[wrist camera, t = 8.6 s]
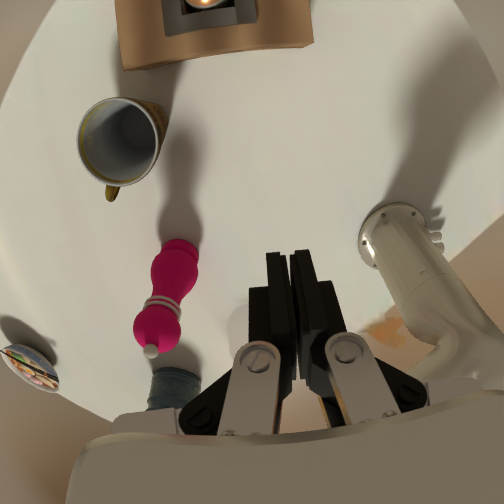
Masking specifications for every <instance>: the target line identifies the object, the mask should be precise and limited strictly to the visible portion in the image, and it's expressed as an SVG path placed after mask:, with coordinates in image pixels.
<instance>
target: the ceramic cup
mask: <svg viewBox="0 0 504 504" xmlns="http://www.w3.org/2000/svg"><path fill="white" fill-rule="evenodd" d="M168 123H169V121H168V119H167V118H166V116H165V114H164V112H163V110H162V109H161V107H160V105H157V104H153V103H148V102H144V101H139V100H136V99H131V98H125V97H114V98H108V99H105V100H102V101H100V102H98V103H97V104H95V105H94V106H93V107H91V108H90V109H89V110H88V111H87V113H86V114H85V115H84V117H83V118H82V120H81V122H80V125H79V128H78V132H77V151H78V155H79V158H80V160H81V162H82V164H83V166H84V168H85V169H86V170H87V171H88V173H89V174H90V175H91V176H92V177H94V178H95V179H96V180H98V181H100V182H102V183H104V184H106V190H105V196H106V199H107V200H108V201H109V202H113V201H114V200H115V199H116V197H117V195H118V192H119V190H120V187H122V186H128V185H131V184H134V183H136V182H138V181H140V180H141V179H143V178H144V177H145V176H146V175H147V174H148V173H149V172H150V170H151V169H152V167H153V166H154V164H155V162H156V160H157V158H158V156H159V153H160V150H161V146H162V143H163V141H164V138H165V134H166V131H167V127H168Z"/></svg>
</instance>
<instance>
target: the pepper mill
mask: <svg viewBox="0 0 504 504" xmlns="http://www.w3.org/2000/svg"><path fill="white" fill-rule="evenodd" d="M198 259H199V257H198V252H197V250H196V248H195V247H194V246H193V245H192V244H191V243H189V242H187V241H185V240H181V239H174V240H170V241H168V242H166V243H165V244H164V246H163V247H162V250H161V252H160V253H159V254H158V255H157V256H156V257H155V259H154V260H153V263H152V266H151V280H152V284H153V292H152V296H151V297H150V298H148V299H147V300H146V302H145V305H144V307H143V311H141V312H140V313H139V314H138V315H137V316H136V318H135V321H134V325H133V332H134V336H135V339H136V341H137V342H138V343H139V344H140V345H141V346H142V347H143V348H144V354H145V356H146V357H148V358H151V359H152V358H155V357H157V355H158V353H163V352H167V351H170V350H171V349H173V348H174V347H175V346H176V344H177V343H178V341H179V339H180V335H181V327H180V324H179V321H180V316H181V309H180V307H179V305H180V302H181V300H182V299H183V298H184V297H185V295H186V294H188V293H189V292H190V291H191V289H192V288H193V286H194V285H195V283H196V280H197V277H198V268H197V263H198Z"/></svg>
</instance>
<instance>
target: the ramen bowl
mask: <svg viewBox="0 0 504 504" xmlns="http://www.w3.org/2000/svg"><path fill="white" fill-rule="evenodd" d="M0 352H1V355H2V358H3V359H4V361H5V362H6V363H7V365H8V366H9V367H10V368H11V369H12V370H13V371H14V372H15V373H16V374H17V375H18V376H20V377H21V378H22V379H24V380H25V381H26V382H28V383H30V384H31V385H33V386H35V387H37V388H39V389H41V390H44V391H46V392H51V393H57V392H59V380H58V376H57V373H56V371H55V369H54V368H53V366H52V365H51V363H50V362H49V361H48V360H47V359H46V358H45V356H44V355H43V354H41V353H40V352H39V351H37V350H35V349H33V348H30V347H28V346H25V345H20V344H14V345H10V346H7V347H5V348H4V349H3V350H2V351H1V350H0Z"/></svg>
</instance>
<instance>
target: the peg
mask: <svg viewBox="0 0 504 504" xmlns="http://www.w3.org/2000/svg"><path fill="white" fill-rule="evenodd" d="M186 1H187V2H188V3H189V4H190V5H191V6H192V7H193V8H194V9H195V10H196V12H202V11H208V10H214V9H221V8H228V7H233V2H232V0H186Z"/></svg>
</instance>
